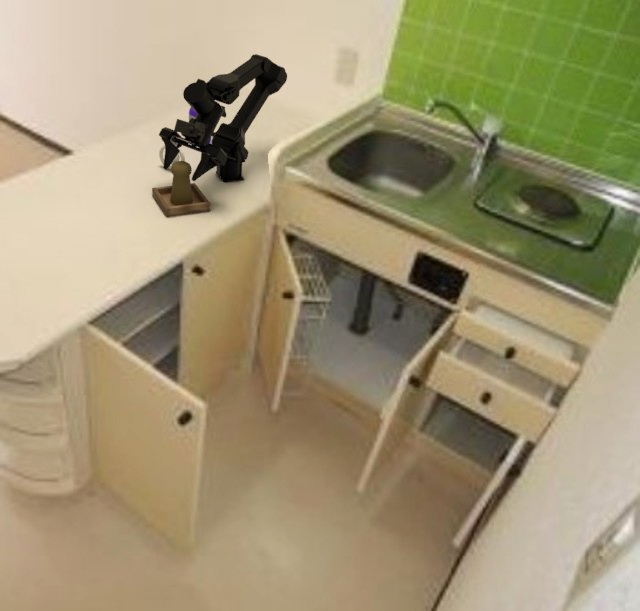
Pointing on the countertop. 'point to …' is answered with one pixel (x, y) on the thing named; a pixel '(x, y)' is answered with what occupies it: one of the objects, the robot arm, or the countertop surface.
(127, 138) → the countertop surface
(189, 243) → the countertop surface
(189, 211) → the walnut tray
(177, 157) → the ring around a ball
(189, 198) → the cork
